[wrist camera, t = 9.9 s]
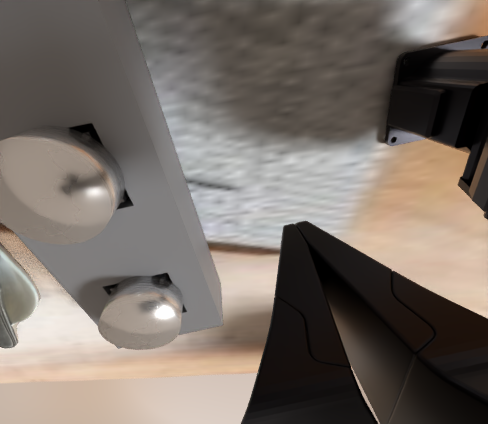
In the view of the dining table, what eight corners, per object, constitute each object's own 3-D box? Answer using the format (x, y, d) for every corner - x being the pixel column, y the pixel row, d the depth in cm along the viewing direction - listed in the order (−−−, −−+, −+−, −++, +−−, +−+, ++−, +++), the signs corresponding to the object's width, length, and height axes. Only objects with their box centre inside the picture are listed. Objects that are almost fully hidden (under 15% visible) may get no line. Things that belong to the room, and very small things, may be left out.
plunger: (176, 232, 22) (165, 295, 16) (194, 274, 25) (189, 340, 19) (115, 246, 21) (81, 313, 16) (141, 286, 24) (120, 355, 19)
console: (16, -318, 9) (-167, -683, 4) (220, 283, 26) (223, 325, 22) (-262, -268, 8) (-721, -590, 4) (132, 303, 26) (118, 348, 22)
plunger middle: (122, 102, 16) (71, 125, 10) (154, 179, 19) (130, 232, 13) (37, 120, 16) (-64, 154, 10) (83, 194, 19) (27, 254, 13)
